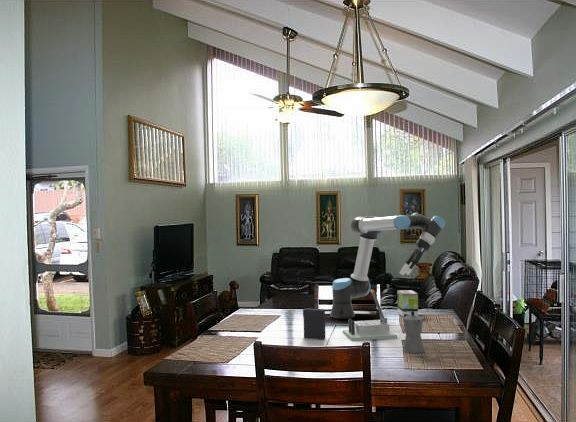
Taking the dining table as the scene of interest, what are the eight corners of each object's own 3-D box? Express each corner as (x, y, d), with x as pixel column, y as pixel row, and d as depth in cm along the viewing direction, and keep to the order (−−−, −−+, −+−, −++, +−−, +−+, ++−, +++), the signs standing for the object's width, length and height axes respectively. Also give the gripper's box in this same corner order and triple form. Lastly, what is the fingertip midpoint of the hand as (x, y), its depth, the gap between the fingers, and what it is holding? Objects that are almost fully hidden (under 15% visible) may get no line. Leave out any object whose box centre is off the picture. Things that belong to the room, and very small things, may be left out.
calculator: (326, 338, 253) (325, 309, 253) (323, 340, 249) (322, 310, 249) (306, 336, 257) (305, 307, 258) (303, 338, 253) (302, 309, 254)
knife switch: (381, 328, 264) (381, 315, 264) (389, 334, 252) (389, 319, 252) (347, 330, 261) (346, 316, 261) (353, 336, 249) (353, 321, 250)
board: (385, 330, 268) (385, 327, 268) (397, 338, 250) (397, 335, 250) (342, 332, 264) (342, 329, 264) (351, 340, 246) (351, 337, 246)
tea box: (418, 317, 301) (418, 293, 301) (402, 317, 301) (401, 293, 301) (412, 312, 316) (412, 289, 316) (397, 312, 316) (396, 289, 316)
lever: (381, 321, 260) (384, 320, 260) (383, 322, 257) (386, 321, 257) (369, 290, 259) (372, 288, 259) (371, 290, 256) (374, 289, 256)
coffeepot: (430, 353, 220) (429, 313, 221) (411, 355, 218) (410, 314, 218) (413, 345, 235) (413, 307, 236) (395, 346, 233) (394, 308, 234)
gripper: (437, 243, 254) (415, 277, 252) (425, 247, 279) (404, 278, 276) (425, 235, 255) (402, 269, 252) (414, 239, 279) (393, 270, 277)
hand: (403, 274), depth 264 cm, fingers open, 13 cm apart
